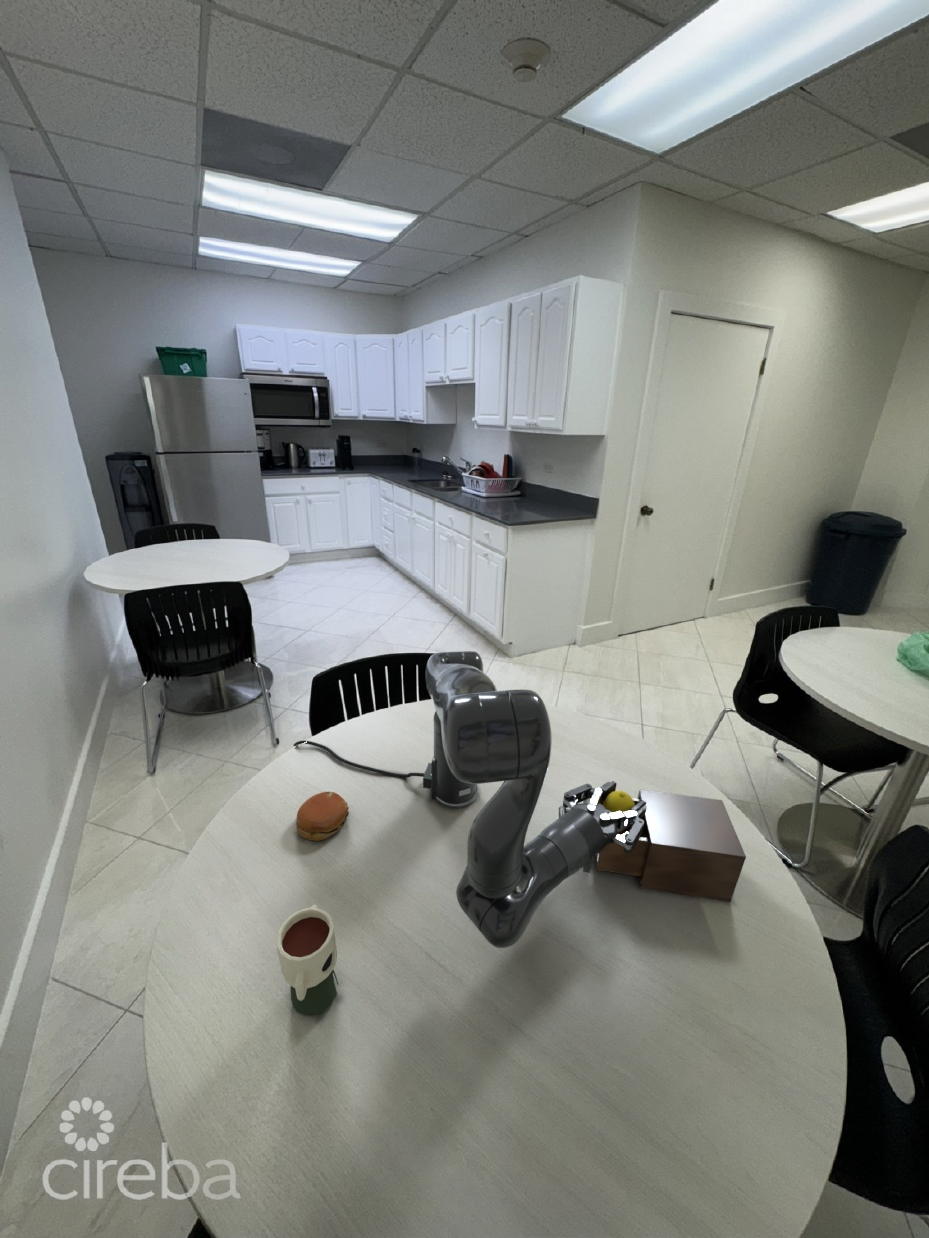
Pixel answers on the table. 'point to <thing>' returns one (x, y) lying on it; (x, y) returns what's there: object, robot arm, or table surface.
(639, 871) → the drawer
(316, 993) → the character mug
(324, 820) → the burger
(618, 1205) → the table surface
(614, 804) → the lemon
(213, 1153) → the table surface
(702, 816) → the cabinet
